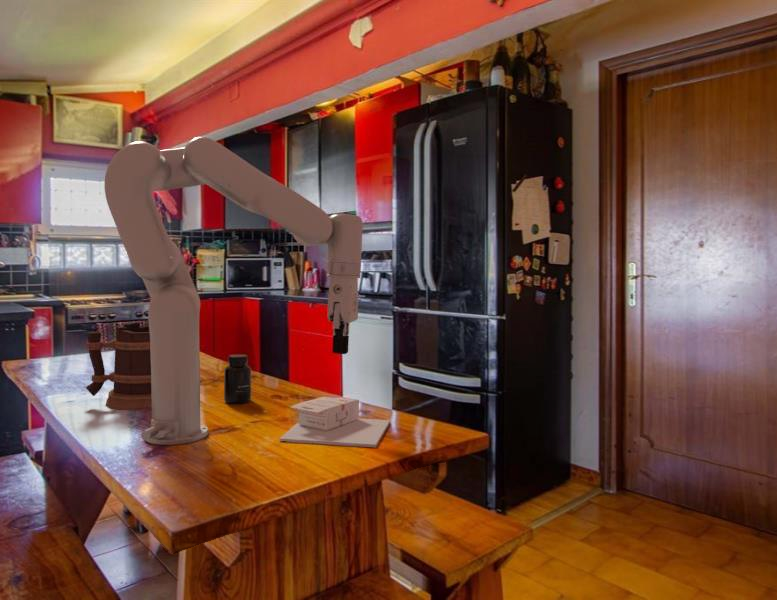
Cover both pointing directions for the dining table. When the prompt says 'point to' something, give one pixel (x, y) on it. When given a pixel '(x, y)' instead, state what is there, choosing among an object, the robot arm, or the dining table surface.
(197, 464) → the dining table surface
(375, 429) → the mat
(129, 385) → the mug
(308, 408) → the ink cartridge box
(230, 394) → the supplement bottle
